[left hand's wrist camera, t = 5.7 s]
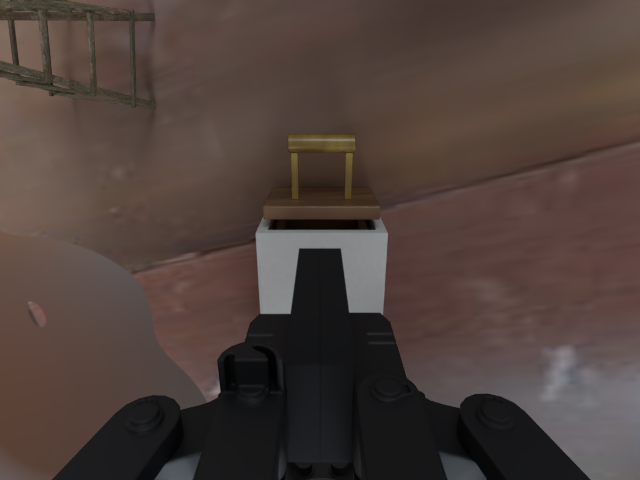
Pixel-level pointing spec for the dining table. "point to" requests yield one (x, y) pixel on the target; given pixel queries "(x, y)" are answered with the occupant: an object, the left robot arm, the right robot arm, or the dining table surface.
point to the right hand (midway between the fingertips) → (321, 353)
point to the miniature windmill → (41, 4)
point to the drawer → (321, 192)
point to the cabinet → (356, 247)
